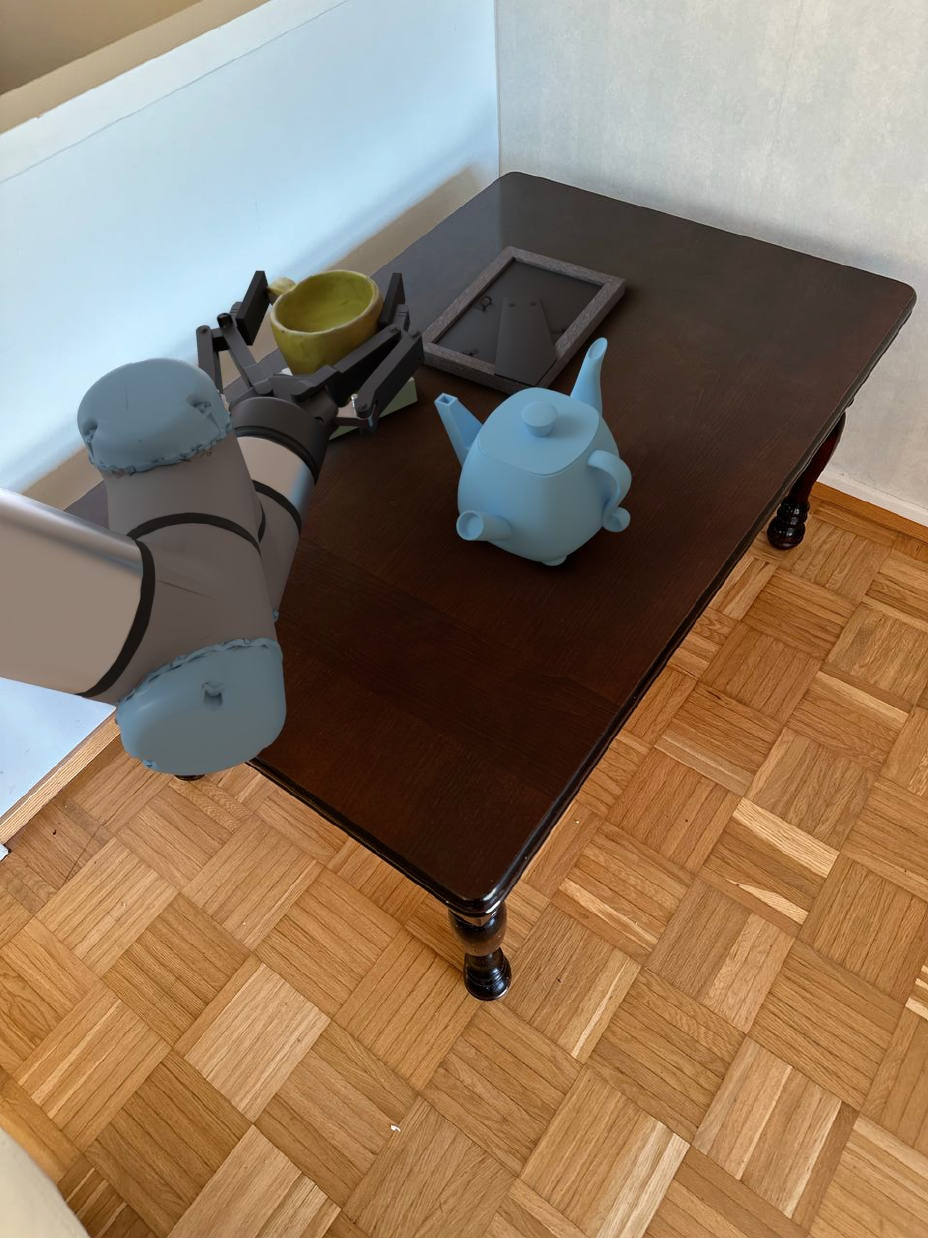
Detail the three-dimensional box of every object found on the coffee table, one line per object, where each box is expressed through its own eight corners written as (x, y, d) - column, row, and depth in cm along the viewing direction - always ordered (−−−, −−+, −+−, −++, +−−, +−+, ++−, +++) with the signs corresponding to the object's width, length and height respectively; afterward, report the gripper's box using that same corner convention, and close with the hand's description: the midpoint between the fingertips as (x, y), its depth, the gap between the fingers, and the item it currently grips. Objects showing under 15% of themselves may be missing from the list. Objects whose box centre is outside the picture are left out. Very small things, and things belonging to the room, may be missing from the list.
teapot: (441, 464, 78) (427, 357, 68) (598, 440, 78) (605, 330, 69) (466, 606, 69) (455, 505, 60) (644, 578, 69) (659, 473, 60)
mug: (439, 363, 77) (380, 269, 69) (349, 443, 76) (279, 358, 69) (375, 317, 85) (316, 228, 77) (293, 389, 84) (226, 307, 77)
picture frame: (534, 403, 81) (624, 293, 90) (534, 385, 80) (625, 275, 88) (412, 359, 86) (508, 258, 94) (409, 342, 84) (507, 241, 93)
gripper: (130, 498, 70) (212, 319, 82) (432, 513, 66) (470, 325, 79) (90, 424, 63) (185, 243, 76) (420, 438, 60) (464, 247, 73)
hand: (331, 285), depth 77 cm, fingers closed on mug, 11 cm apart
